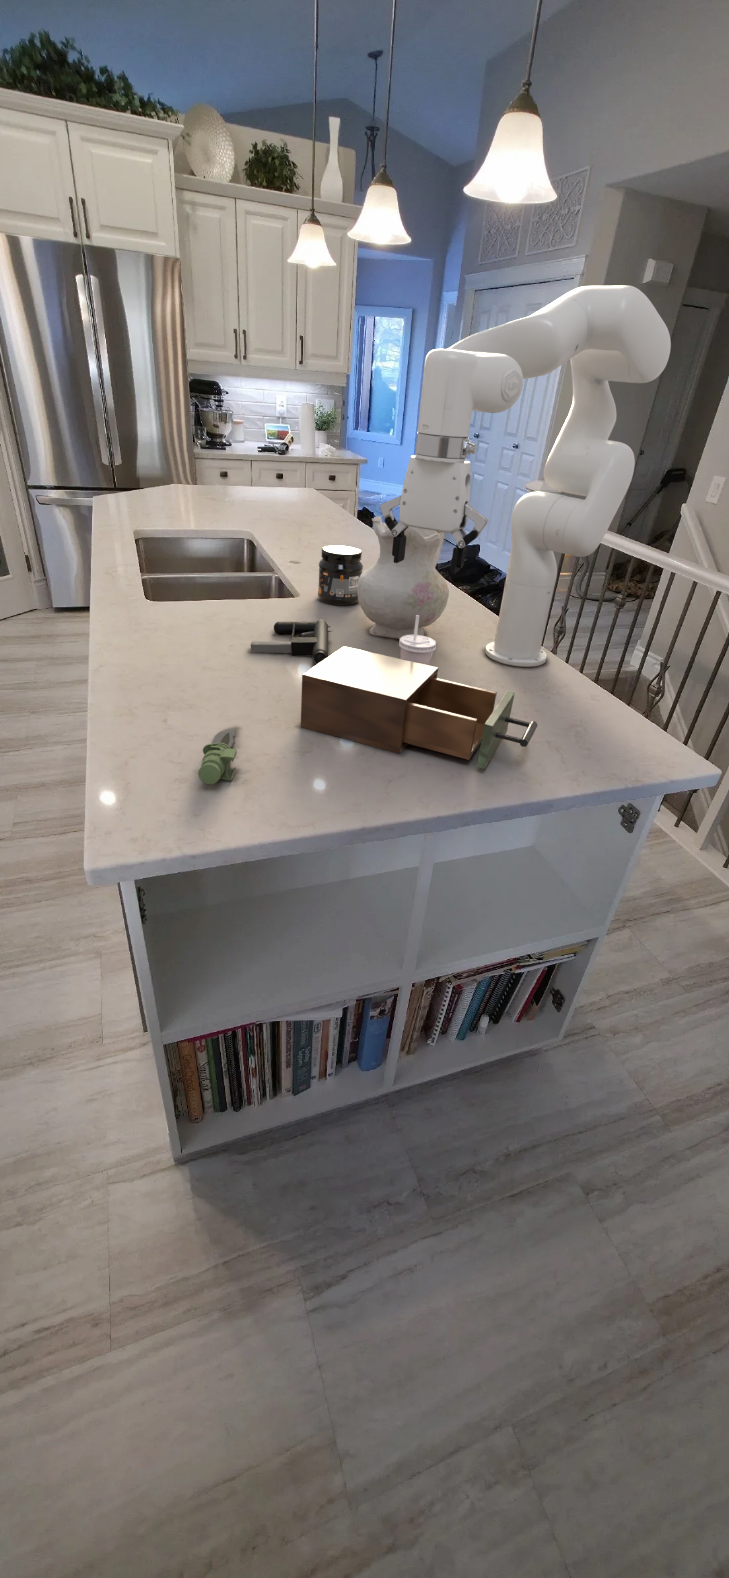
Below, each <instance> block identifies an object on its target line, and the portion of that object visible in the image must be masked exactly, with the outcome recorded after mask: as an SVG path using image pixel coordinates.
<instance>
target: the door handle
mask: <svg viewBox="0 0 729 1578" xmlns="http://www.w3.org/2000/svg"><path fill="white" fill-rule="evenodd" d="M329 628H330V626H329V624H328V622H327V621H326V620H324V619H318V620H316V621H276V622H275V623H274V625H273V631H274V633H275V634H277V635H291V640H290V641H251V642H250V653H252V654H254V653H255V654H257V653H271V654H272V653H274V654H275V653H278V654H279V653H282V654H283V653H284V654H285V653H287V654H288V653H289V654H291V657H312V660H313V662H314V663H315V664H316V665H317V664H318V663H320V662H321V661H323V660H324V659H326V658H327V657H329V656H330V655H329V633H330V632H331V633H332V630H329ZM296 635H300V637H298V636H297V637H296ZM307 636H308V637H307ZM309 636H311V637H309Z"/></svg>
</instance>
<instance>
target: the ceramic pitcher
mask: <svg viewBox="0 0 729 1578" xmlns="http://www.w3.org/2000/svg"><path fill="white" fill-rule="evenodd" d="M382 517H383V516H380V515H379V516H375V517H373V518H371V521H372V528H373V532H374V533H375V535H376V537H377V539H378V544H379V557H378V559H377V561H376V562H375V563H374V564H372V565H371V566H370V567H368V568H366V569H365V570H363V571H362V574H361V575H360V577H359V581H358V586H357V593H358V604H359V606H360V608H361V610H362V612H363V614H364V616H366V617H367V619H369V620H370V621H371V622H373V623H374V625H373V626H372V627H371V628H370V629H369V630H368V631H369V634H370V635H373V636H377V637H386V638H392V639H397V640H400V638H401V637H403V636H406V635H414V629H415V621H416V615H419V623H418V631H417V635H422V636H425V631H424V629H423V628H425V627H428V626H430V625H432V624H433V623H435V622H436V621H437V620H438V619H439V618H440V617H441V616H442V614H443V613H444V611H445V609H446V607H447V604H448V601H449V596H450V594H449V592H450V589H449V586H448V583H447V580H446V579H445V577H443V575H442V574H440V572H439V571H438V570H437V569H436V566H437V565H438V562H439V560H440V556H441V552H442V548H443V544H444V541H445V533H446V532H439V531H433V530H426V529H421V528H415V527H409V528H408V529H407V530H406V531H405V532H404V535H406V537H407V538H406V547H405V557H404V560H403V561H401V562H399V563H394V556H392V548H393V536H392V535H391V531H390V530H389V528H388V527H387V525H386V524H385V522H383V518H382Z"/></svg>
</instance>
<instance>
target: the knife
mask: <svg viewBox="0 0 729 1578" xmlns="http://www.w3.org/2000/svg"><path fill="white" fill-rule="evenodd" d="M235 735H236V729H235V728H227V729H223V730H222V731H219V732H218V733H216V734H215V736H214V737H213V739H212V741H211V743H207V744H205V745H204V747H203V748H202V753H203V755H204V757H202V760H201V765H200V769H199V770H198V777H199V780H200V781H201V782H202V783H204V784H205V785H214V784H217V783H218V782H219V780H220V779H221V780H224V781H231V782H232V780H233V778H234V776H235V774H236V767H234V768H232V767H231V762H233V763H234V761H235V758H236V757H237V754H238V749H236V748H234V746H235V744H236V738H235Z"/></svg>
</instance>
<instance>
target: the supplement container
mask: <svg viewBox="0 0 729 1578" xmlns="http://www.w3.org/2000/svg"><path fill="white" fill-rule="evenodd" d="M320 553H321V559H320V561H319V562H318V587H317V588H318V590H317V597H318V599H319V600H320V601H321V602H323V603H326V604H329V605H333V606H351V605H355V604H357V603H359V601H358V593H357V586H358V581H359V577H360V575H361V574H362V572H363V571H364V565H363V564H362V562H361V561H362V558H363V557H362V555H363V551H362V550H361V549H360V548H357V547H354V546H351V545H344V544H343V545H342V544H331V545H325V546H323V547H321V551H320Z"/></svg>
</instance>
